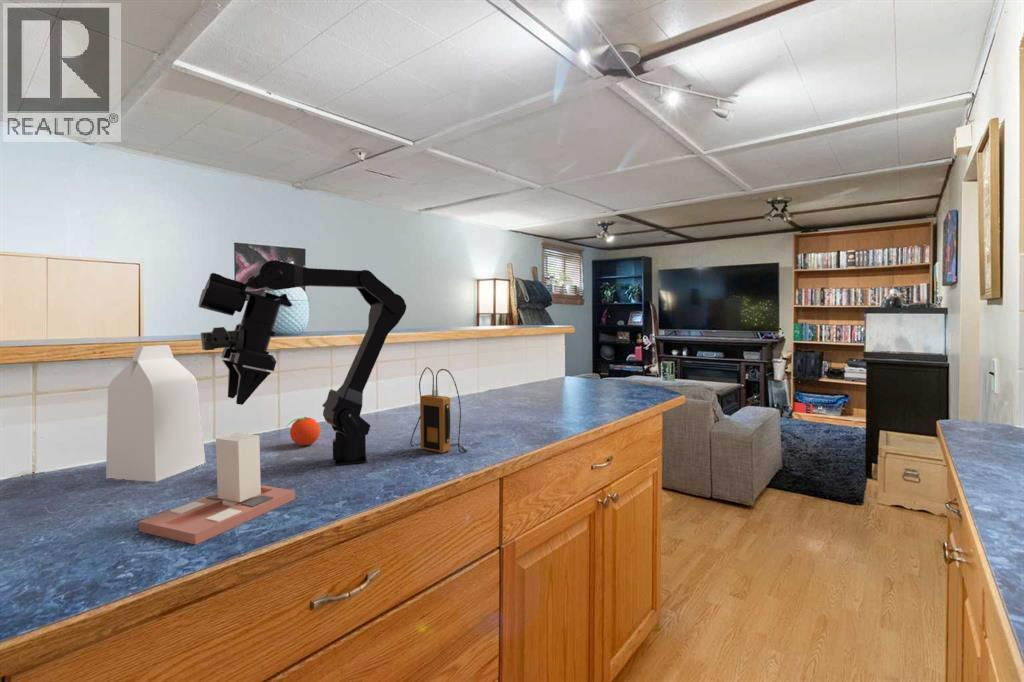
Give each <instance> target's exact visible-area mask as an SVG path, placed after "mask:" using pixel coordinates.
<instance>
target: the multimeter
mask: <svg viewBox="0 0 1024 682" xmlns="http://www.w3.org/2000/svg"><path fill="white" fill-rule="evenodd" d="M427 369H428V370H429V371H430V373H431V375H432V390H431V394H425V395H422V392H421V380H422V377H423V375H424V373H425V371H426V370H427ZM441 371H446V372H447V373H448V374H449V375H450V377H451V379H452V380H453V383H454V386H455V389H456V394H457V397H458V398H457V399H458V404H459V405H458V406H459V426H458V441H457V442H451V397H450V396H447V395H445V396H443V395H439V390H438V374H439V373H440V372H441ZM434 376H435V378H434ZM434 380H435V381H434ZM418 388H419V389H418V390H419V397H420V398H419V406H420V408H419V411H420V413H419V415H420V416H418V417H419V418H418V420H417V423H416V424H415V427H414V429H413V433H412V434H411V438H410V446H411V447H415V446H414V445H416V446H419V445H418V444H419V443H417V444H412V443H413V442H412V441H413V437H414V434H415V432H416V429H417V427H418V425H419V423H420V444H421V445H420V449H421V450H423V449H424V450H423V451H432V452H436V453H439V454H444V453H447V452H449V451H450V450H451V445H452V446H453V445H454V444H455V445H457V446H458V451H459V453H461V454H462V453H463V454H464V452H465V453H467V452H468V450H467V448H466V447H465V445H464V444H466V442H464V441H463V442H460V435H461V421H462V420H461V419H462V417H461V416H462V407H461V401H460V394H459V391H458V386H457V384H456V381H455V378H454V376H453V375H452V373H451V372H450V371H449V370H447V369H446V368H441V369H439V370H438V371H437V372H436V375H434V372H433V371H432V369H431V368H430V367H429V366H427V367H425V368H424V370H423V371H422V373H421V375H420V378H419V382H418ZM460 446H461V448H462V449H463V450H464V451H461V449H460ZM425 449H426V450H425Z"/></svg>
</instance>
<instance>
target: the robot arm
mask: <svg viewBox="0 0 1024 682" xmlns="http://www.w3.org/2000/svg"><path fill="white" fill-rule="evenodd" d="M208 277H209V278H208V280H207V281H206V283H205V286H204V288H203V289H202V291H201V294H200V297H199V302H198V308H201V309H205V310H209V311H212V312H216V313H220V314H224V315H227V316H232V317H233V316H234V314H235V313H236V312H237V313H241V312H242V311H243V309H244V311H243V315H242V319H241V321H240V323H238V324H236V325H235V327H234V329H233V330H227V329H226V327H225V326H224V327H223V326H220V327H219V326H218V327H213V329H212V331H207V332H206V331H205V332H200V339H201V347H202V350H203V351H213V350H216V349H223V350H222V353H221V355H220V357H221V358H222V359H221V361H222V363H223V364H224V365H225V367H226V368H227V369H228V378H227V379H228V380H227V383H228V384H227V398H229V399H234V398H235V397H236V400H235V403H236V405H241V406H242V405H244V403H246V402H247V400H249V398H250V397H251V395H252V394H253V393H255V391H256V389H258V388H259V387H260V385H261V384H262V383H263V382H264V381H265V380H266V379H267V377H269V376H270V375H271V372H270V371H272V372H274V370H275V368H276V364H277V360H276V358H275V357H274V355H272V354H270V352H269V351H268V348H269V345H270V341H271V338H272V337H275V333H276V331H275V330H274V329H275V328H274V327H275V325H276V321H277V318H278V314H279V310H280V307H281V306H282V307H284V308H290V307H291V308H292V306H293V304H292V302H291V301H290V300H289V297H288V295H287V293H282V294H280V295H277V294H274V293H270V292H273V291H274V292H275V291H279V290H286V289H293V288H302V287H317V288H318V287H322V288H325V287H326V288H355V289H356V290H357V291H358V292H359V294H360V295H361V296H362V297H363V300H364V301H365V302H366V303H367V305H369V306H370V308H369V312H368V325H367V326H368V327H367V329H366V332H365V334H364V337H363V339H362V341H361V343H360V345H359V348H358V350H357V352H356V354H355V356H354V359H353V360H352V363H351V364H350V367H349V370H348V372H347V374H346V377H345V379H344V381H343V383H342V385H341V386H340V387H339V388H338V389H337V390H334V389H329V391H328V395H327V398H326V400H325V401H324V402H323V404H322V406H321V407H323V411H322V415H323V417H324V418H323V419H324V420H325V422H327V424H329V425H331V427H332V429H333V431H334V432H335V437H334V438H333V440H332V460H333V461H334V463H335V464H334V465H336V466H340V465H350V464H360V463H367V462H368V459H367V452H366V451H367V450H366V448H367V446H366V443H367V442H366V436H368V435H369V432H370V429H371V425H370V423H368V422H367V421H366V420H365V419H363V417H361V412H362V409H363V399H364V397H363V395H364V390H365V388H366V385H367V383H368V381H369V378H370V376H371V373H372V371H373V369H374V367H375V364H376V363H377V359H378V358H379V355H380V353H381V351H382V349H383V346H384V344H385V342H386V340H387V337H388V335H389V333H390V332H391V331H392V330H393V329H394V328H395V327H396V326H397V325H398V324H399V323H400V321H401V319H402V318H403V317H404V315H405V313H406V312H407V304H406V302H405V299H404V298H403V297H402V296H401V295H400V294H397V293H395V292H394V291H393V290H392V288H391V287H389V286H387V285H386V284H385V283H383V282H382V281H381V280H380V279H379V278H377V277H376V276H375V275H374V273H372V271H370V270H368V269H363V270H352V269H351V270H350V269H349V270H348V269H336V268H335V269H333V268H332V269H331V268H315V267H313V268H312V267H305V266H301V265H298V264H295V263H291V262H287V261H286V262H285V261H282V260H277V259H276V260H275V259H274V260H273V259H272V260H268V261H265V262H263V263H260V264H259V265H258V266H257V267H256V268H255V270H254V271H253V275H251V277H249V278H246V279H243V281H239V280H234V279H231V278H228V277H225V276H223V275H221V274H219V273H216V272H212V273H210V274H209V276H208ZM259 289H261V290H264V291H263V292H262V294H257V293H252V292H251V291H255V290H259ZM247 298H248V299H247ZM246 300H247V302H246ZM245 304H246V305H245ZM244 306H245V308H244Z"/></svg>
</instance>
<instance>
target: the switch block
mask: <svg viewBox="0 0 1024 682" xmlns="http://www.w3.org/2000/svg"><path fill="white" fill-rule="evenodd" d="M223 500H225V499H220V498H218V491H217V492H215V493H212V494H209V495H207V496H204V497H201V498H198V499H196V500H192V501H190V502H188V503H185V504H183V505H180V506H177V507H174V508H172V509H171V508H170V509H168V510H165V511H163V512H160V513H158V514H155V515H152V516H151V517H150V516H149V517H147V518H144V519H141V520H139V521H138V531H139V532H142V533H144V534H149V535H153V536H157V537H162V538H166V539H171V540H173V541H179V542H182V543H187V544H190V545H195V546H196V545H198V544H200V543H203V542H205V541H207V540H209V539H212V538H213V537H216V536H218V535H220V534H222V533H224V532H227V531H229V530H231V529H233V528H235V527H237V526H240V525H242V524H244V523H246V522H248V521H251V520H253V519H255V518H257V517H259V516H262V515H264V514H266V513H268V512H270V511H272V510H275V509H277V508H279V507H281V506H283V505H286V504H287V503H290V502H292V501H294V500H296V490H292V489H287V488H282V487H275V486H271V485H270V486H269V485H262V484H261V494H259V495H256V497H253V498H251V499H249V500H246V501H244V502H241V503H239V504H236V505H234V506H232V507H231V506H226V505H222V501H223Z"/></svg>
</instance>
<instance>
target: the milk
mask: <svg viewBox="0 0 1024 682" xmlns="http://www.w3.org/2000/svg"><path fill="white" fill-rule="evenodd" d="M106 415H107V416H106V418H107V420H106V421H107V422H106V425H107V426H106V457H105V458H106V460H105V461H106V462H105V463H106V464H105V465H106V466H105V467H106V468H105V469H106V470H105V478H106V479H108V478H114V480H122V479H125V480H124V481H139V482H150V483H151V482H152V483H153V482H154V483H156V482H160V481H162V480H164V479H168V478H170V477H173V476H175V475H178V474H180V473H183V472H185V471H188V470H191V469H194V468H196V466H197V467H200V466H202V465H205V464H206V455H205V446H204V435H203V426H202V416H201V407H200V397H199V388H198V382H197V378H196V377H195V376H194V375H193V373H191V371H189V370H188V369H187V368H186V367H185V366H184V365H182V364H181V363H180V362H179V361H178V360H177V359H176V358H175V357H174V355H173V352H172V350H171V347H170V345H168V344H160V345H143V346H137V347H136V350H135V352H134V354H133V357H132V359H131V361H130V362H129V363H128V364H127V365H126V366H125V367H124V368H123V369H122V370H121V371H119V373H118V374H117V375H116V376H115V377H113V379H112V380H111V381H110V383H109V385H108V388H107V414H106ZM204 463H205V464H204ZM201 464H202V465H201ZM199 465H200V466H199Z"/></svg>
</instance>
